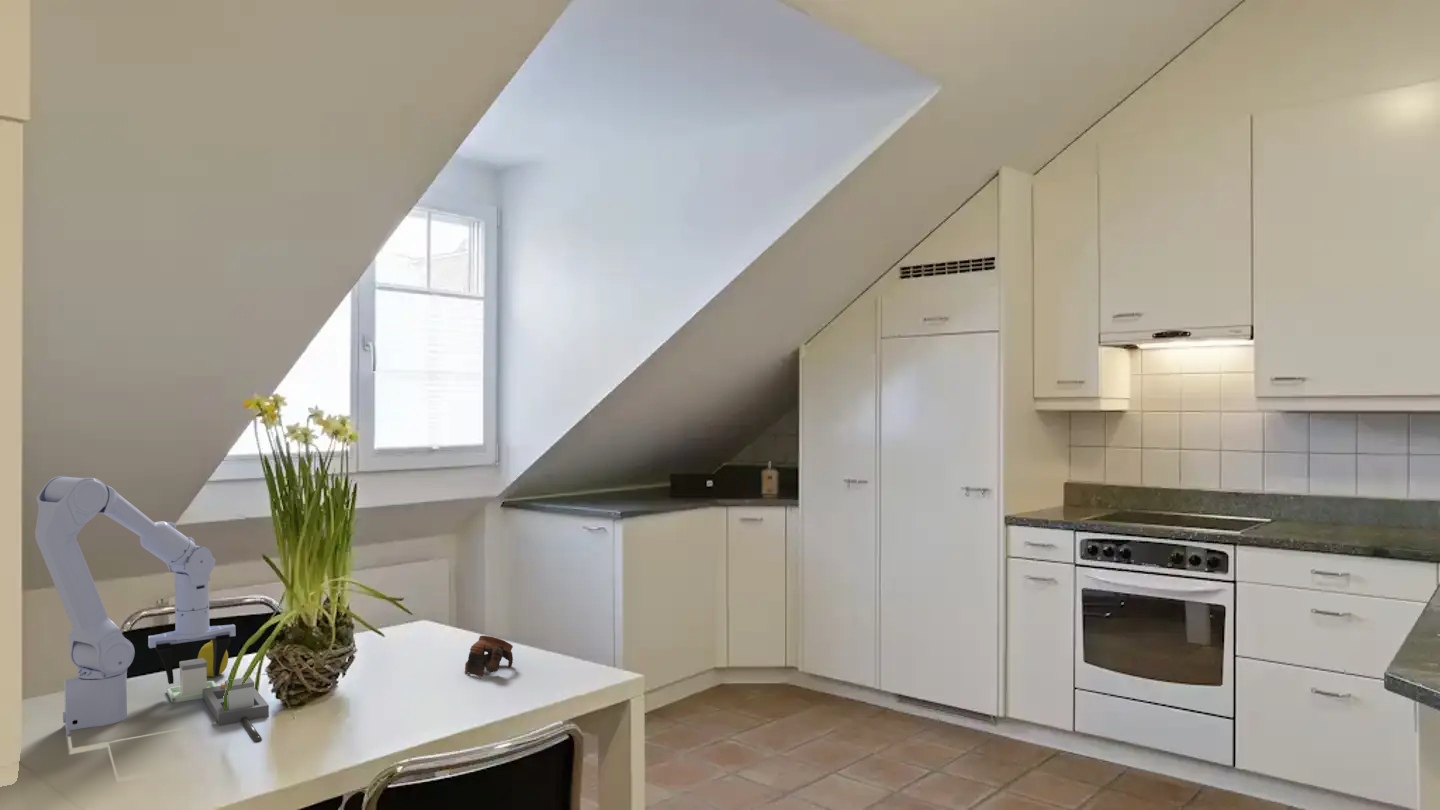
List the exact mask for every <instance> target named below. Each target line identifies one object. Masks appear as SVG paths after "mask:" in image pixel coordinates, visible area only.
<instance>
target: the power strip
mask: <svg viewBox="0 0 1440 810" xmlns="http://www.w3.org/2000/svg"><path fill="white" fill-rule="evenodd" d="M224 693H225V682H222V683H220V685H217V686H216V687H210V688H204V689H203V698H202V699H203V701H204V702H205V705H206V706H207V707H208V709H209V711H210V713H211V714H212V716H213V717H214V719H215V722H216V724H217V725H218V727H219V726H226V725H231V724H237V723H241V725H242V726H243V728H244V729H245V730H246V732H247V734H248V735H249V737H250V738H251V740H253V742H254V743H259V742H261V741H263V738H262V737H261V735H260V733H259V732H258V730H257V729H256V728H255V726H254V725H253V724H252V723H251V720H252V721H253V720H258V719H263V718H264V719H265V718H267V717H270V715H269V713H270V711H269V709H270V706H269V703H268V702H267V701H266V700H265V699H264V697H263V696H262V695H261V694H260V692H259V691H258V690H257V689H256V688H255V687H254V706H249V707H244V708H238V709H233V710H227V711H225V709H224V708H223V702H224V698H223V696H224Z"/></svg>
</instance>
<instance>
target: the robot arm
mask: <svg viewBox="0 0 1440 810" xmlns="http://www.w3.org/2000/svg"><path fill="white" fill-rule="evenodd" d="M35 499H36V502H37V505H38V511H37V515H36V516H37V518H36V524H35V531H34V537H35V541H36V543H37V546H38V548H39V551H40V553H41V556H42V558H43V560H44V563H45V566H46V567H47V569H48V572H49V575H50V577H51V580H52V582H53V584H54V588H55V589H56V591H57V594H58V596H59V598H60V601H61V604H62V605H63V608H64V611H65V614H66V615H67V617H68V620H69V622H70V625H71V627H72V629H71V630H70V632H69V633H68V635H67V637H68V640H69V643H70V645H69V646H70V648H69V649H70V650H69V658H70V661H71V663H72V664H73V665H74V666H76V667H77V676H75V677H72V678H71V677H70V678H66V679H64V686H63V687H64V711H63V712H62V722H63V724H64V727H65V733H66V736H71V731H74V730H79V729H85V728H93V727H103V726H107V725H112V724H116V723H118V722H121V721H123V720H126V718H127V717H128V690H127V689H128V685H127V683H128V679H127V677H128V675H127V673H128V668H129V667H130V666H131V664H132V663H133V662H134V658H135V654H136V652H135V647H134V644H133V643H132V642H131V640H129V639H127V637H125V636H124V635H123V632H122V631H121V628H120V627H119V626H118V625H117V624H116V623H115V622H114V621H113V620H111V619H110V618H109V615H108V614H107V611H106V608H105V605H104V604H103V601H102V598H101V595H100V594H99V591H98V589H97V586H96V584H95V581H94V579H93V577H92V573H91V571H90V569H89V566H88V564H87V562H86V559H85V557H84V554H83V552H82V549H81V547H80V544H79V542H78V539H77V536H78V535H79V533H80V531H81V530H82V529H83V527H85V525H86V524H88V522H90V520H92V519H93V518H94V517H95V516H96V515H97V514H102V515H105V516H106V517H108V518H109V519H111V520H113V521H115V522H117V524H119V525H121V526H122V527H124V528H126V529H127V530H129V531H130V532H132V533H133V534H136V535H137V536H138V537H139V544H140V546H141V547H142V548H144V550H146V551H147V552H149V553H150V554H152V555H153V556H155V558H156V557H157V558H158V559H159V560H161V561H162V562H164V563H165V564H166V567H167V568H168V570H169V572H170V573H171V572H172V573H173V574H174V614H175V615H174V619H175V621H174V623H175V626H174V627H175V628H174V630H173V631H168V632H162V633H159V634H154V635H148V638H147V640H148V641H147V643H148V644H147V646H148V648H149V649H153V648H155V650H156V652H157V654H158V656H159V657H160V659H161V662H162V665H163V667H164V670H165V673H166V678H167V683H168V685H172V684H174V669H173V654H174V653H173V652H174V651H173V649H172V645H176V644H181V643H182V644H183V643H189V642H190V643H191V642H196V641H197V642H198V641H203V640H204V641H205V640H212V641H213V675H214V676H215V677H220V675H219V671H220V666H221V663H222V659H223V657H224V654H225V652H226V650H227V651H228V648H229V645H230V644H231V637H236V634H237V633H236V625H235V624H233V623H232V624H224V625H212V626H211V625H210V590H209V589H210V580H211V578H210V577H211V576H210V575H211V572H212V571H213V569H214V568H215V565H216V560H217V559H216V558H214V557H213V554H212V551H211V550H210V549H209V548H208V547H206V546H202V545H196V542H195V539H194V538H193V537H192V536H188V537H187V535H184V534H183V533H182V532H181V531H179V530H177V529H176V528H177V525H176V524H175V523H174V522H172V521H167V522H166V521H163V520H160V521H155V522H154V521H153V520H152V519H150V518H149V517H148V515H146V514H144V513H143V512H142V511H140V510H139V509H138V508H137V507H136V506H135V505H134V504H132V503H131V502H129V501H128V500H127V499H126V498H124V497H123V496H122V495H121V494H119V493H118V491H116V489H114V488H113V487H111V486H109V485H107V484H106V485H105V483H104V482H103V481H101V480H100V479H98V478H94V477H70V476H67V475H59V476H55V477H53V478H51V479H49V480H48V481H47V482H46V483H45V484H44V486H43V487H42V488H41V490H40V491H39V493H38V494H37V495H36V498H35ZM215 677H214V678H215ZM74 721H75V722H76V721H77V722H76V723H73V722H74Z"/></svg>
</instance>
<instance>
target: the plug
mask: <svg viewBox="0 0 1440 810" xmlns="http://www.w3.org/2000/svg"><path fill="white" fill-rule="evenodd" d="M178 665H179V686H180V693H181V695H182V696H186V695H192V694H198V693H203V689H204V688H207V681H208V678H207V677H208V676H207V668H206V667H207V662H206V661H205V660H204V658H200V659H198V658H193V659H188V660H181V661H179V663H178Z"/></svg>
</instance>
